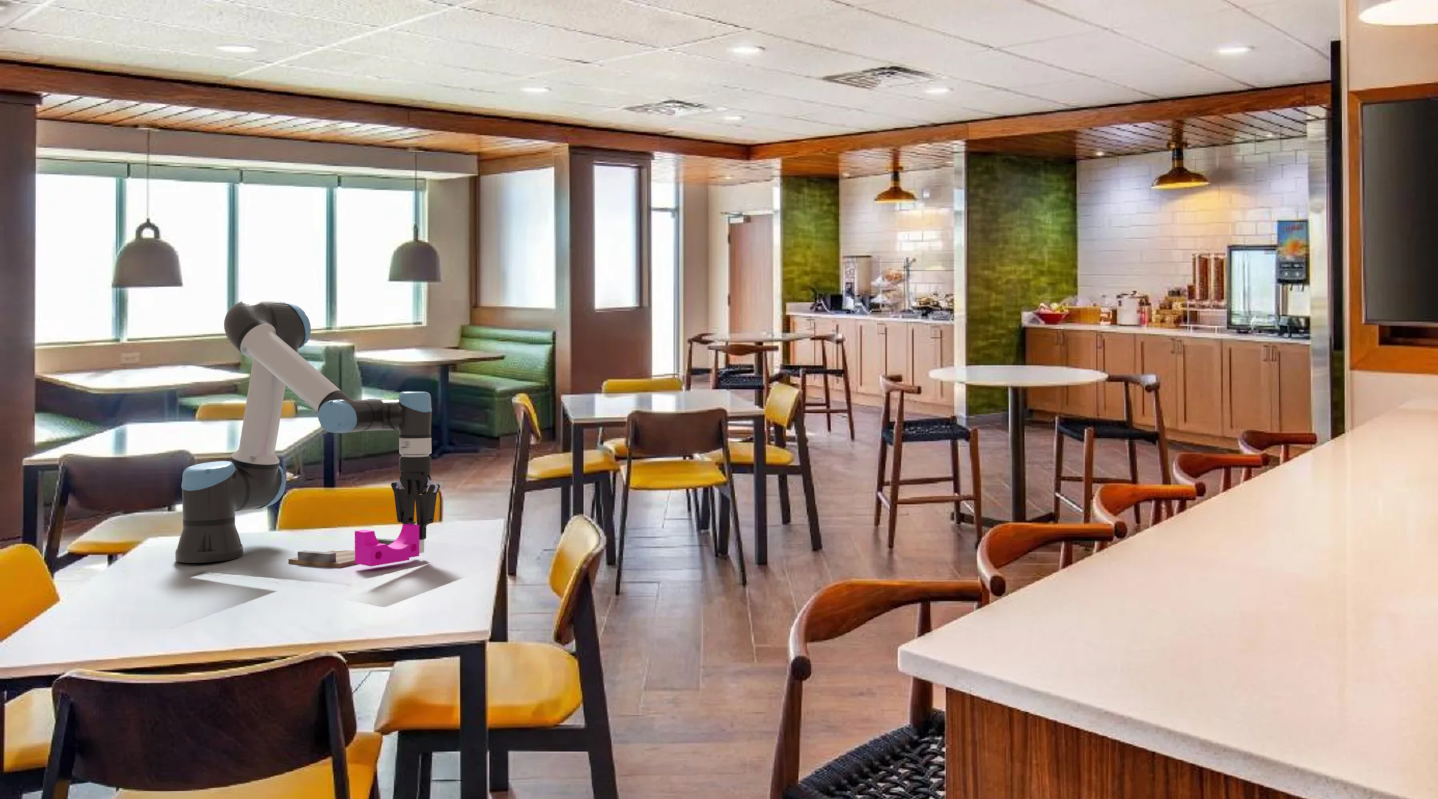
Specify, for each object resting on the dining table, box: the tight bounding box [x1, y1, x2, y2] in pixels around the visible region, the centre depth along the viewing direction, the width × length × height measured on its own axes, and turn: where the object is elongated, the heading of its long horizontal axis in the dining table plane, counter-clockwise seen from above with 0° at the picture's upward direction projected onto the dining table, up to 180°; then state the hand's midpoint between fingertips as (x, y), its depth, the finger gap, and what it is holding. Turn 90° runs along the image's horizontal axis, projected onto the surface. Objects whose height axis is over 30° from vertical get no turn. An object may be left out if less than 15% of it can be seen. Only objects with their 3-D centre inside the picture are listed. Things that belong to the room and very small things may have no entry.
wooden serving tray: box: [288, 537, 396, 569], centre depth 262 cm, size 16×24×3 cm, turn 156°
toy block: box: [354, 523, 420, 567], centre depth 249 cm, size 15×6×8 cm, turn 142°
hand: (415, 552), depth 257 cm, fingers closed on toy block, 2 cm apart
